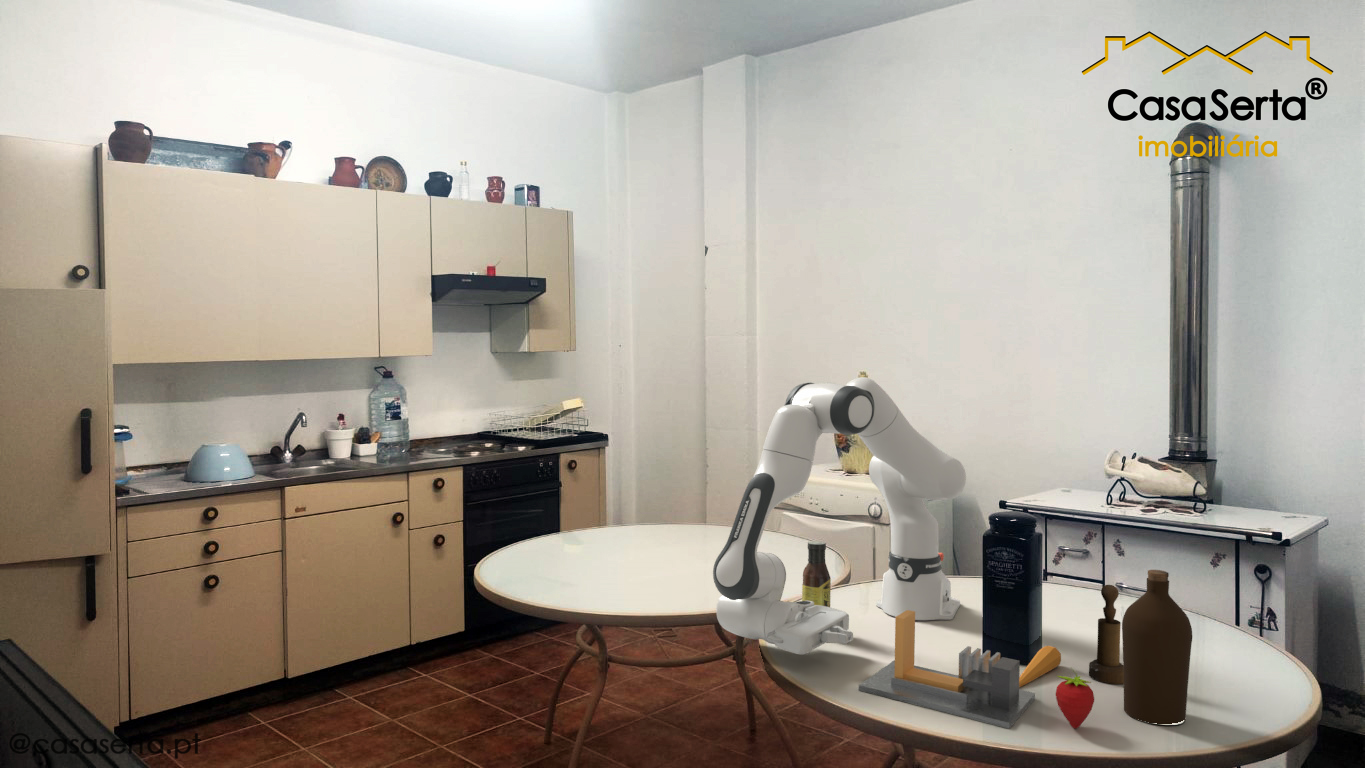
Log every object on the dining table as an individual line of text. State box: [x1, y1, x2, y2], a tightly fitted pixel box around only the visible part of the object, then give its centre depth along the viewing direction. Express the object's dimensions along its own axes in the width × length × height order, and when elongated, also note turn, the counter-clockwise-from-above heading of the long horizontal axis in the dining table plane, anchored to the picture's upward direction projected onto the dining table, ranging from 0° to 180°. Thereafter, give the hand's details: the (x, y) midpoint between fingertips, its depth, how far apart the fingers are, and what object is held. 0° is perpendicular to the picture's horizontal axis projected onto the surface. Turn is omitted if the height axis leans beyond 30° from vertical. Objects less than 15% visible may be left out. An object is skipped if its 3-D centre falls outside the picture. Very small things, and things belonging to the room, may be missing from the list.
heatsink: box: [858, 645, 1036, 729], centre depth 159 cm, size 16×27×8 cm, turn 54°
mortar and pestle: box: [1088, 584, 1124, 685], centre depth 167 cm, size 7×6×18 cm
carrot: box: [1019, 645, 1062, 688], centre depth 168 cm, size 20×4×4 cm, turn 136°
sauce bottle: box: [801, 540, 832, 608], centre depth 194 cm, size 7×6×20 cm
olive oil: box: [1121, 569, 1193, 724], centre depth 150 cm, size 11×11×25 cm
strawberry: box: [1054, 666, 1095, 729], centre depth 145 cm, size 6×8×10 cm
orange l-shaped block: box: [894, 610, 965, 693], centre depth 161 cm, size 6×12×12 cm, turn 54°
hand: (849, 638), depth 170 cm, fingers closed
